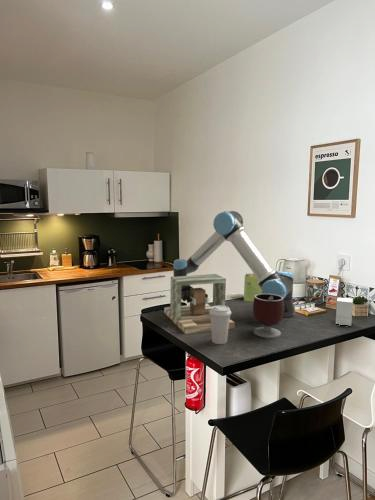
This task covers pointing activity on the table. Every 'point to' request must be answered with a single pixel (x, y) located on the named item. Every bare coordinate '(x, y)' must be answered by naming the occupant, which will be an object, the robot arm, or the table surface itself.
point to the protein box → (251, 287)
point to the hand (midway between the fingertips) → (201, 301)
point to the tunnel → (182, 313)
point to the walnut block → (198, 301)
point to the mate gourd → (268, 314)
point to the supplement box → (344, 311)
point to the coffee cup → (219, 323)
